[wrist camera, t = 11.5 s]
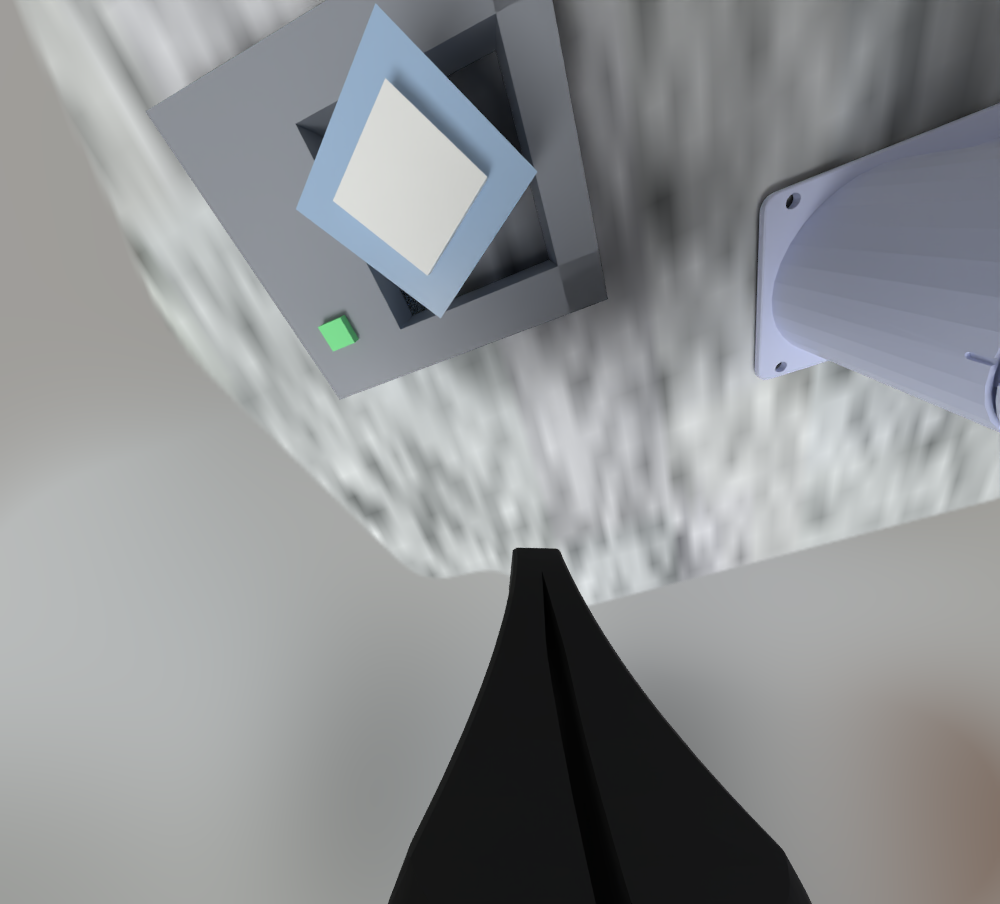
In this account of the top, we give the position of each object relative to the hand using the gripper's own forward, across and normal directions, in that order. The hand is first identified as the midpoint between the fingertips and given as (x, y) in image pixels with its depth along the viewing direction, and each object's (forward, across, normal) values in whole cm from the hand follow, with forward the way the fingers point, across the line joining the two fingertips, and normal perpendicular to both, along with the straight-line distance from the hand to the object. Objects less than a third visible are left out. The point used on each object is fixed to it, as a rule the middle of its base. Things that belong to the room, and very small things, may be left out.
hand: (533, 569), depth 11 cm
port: (+10, +5, -9) cm, 14 cm away
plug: (+10, +3, -10) cm, 14 cm away
